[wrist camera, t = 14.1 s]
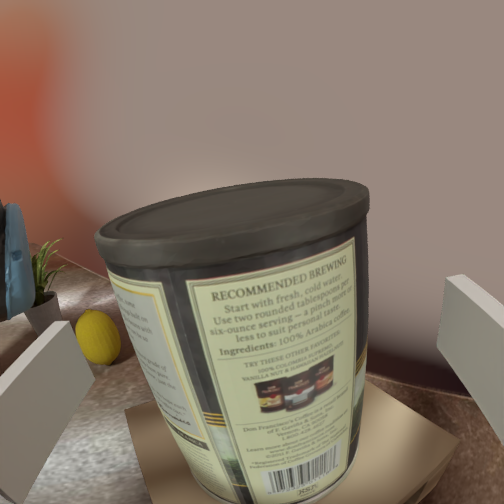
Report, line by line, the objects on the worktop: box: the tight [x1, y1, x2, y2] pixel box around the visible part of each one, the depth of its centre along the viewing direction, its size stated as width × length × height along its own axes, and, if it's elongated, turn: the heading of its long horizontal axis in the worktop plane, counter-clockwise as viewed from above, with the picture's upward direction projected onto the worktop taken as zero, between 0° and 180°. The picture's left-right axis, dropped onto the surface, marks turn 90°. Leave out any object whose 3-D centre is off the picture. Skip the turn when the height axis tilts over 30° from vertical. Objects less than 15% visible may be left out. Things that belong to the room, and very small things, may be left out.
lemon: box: [75, 309, 121, 365], centre depth 34 cm, size 6×6×8 cm
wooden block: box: [124, 379, 460, 504], centre depth 17 cm, size 16×16×6 cm
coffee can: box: [94, 178, 369, 504], centre depth 14 cm, size 10×10×14 cm
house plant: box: [24, 239, 65, 336], centre depth 43 cm, size 14×14×16 cm
